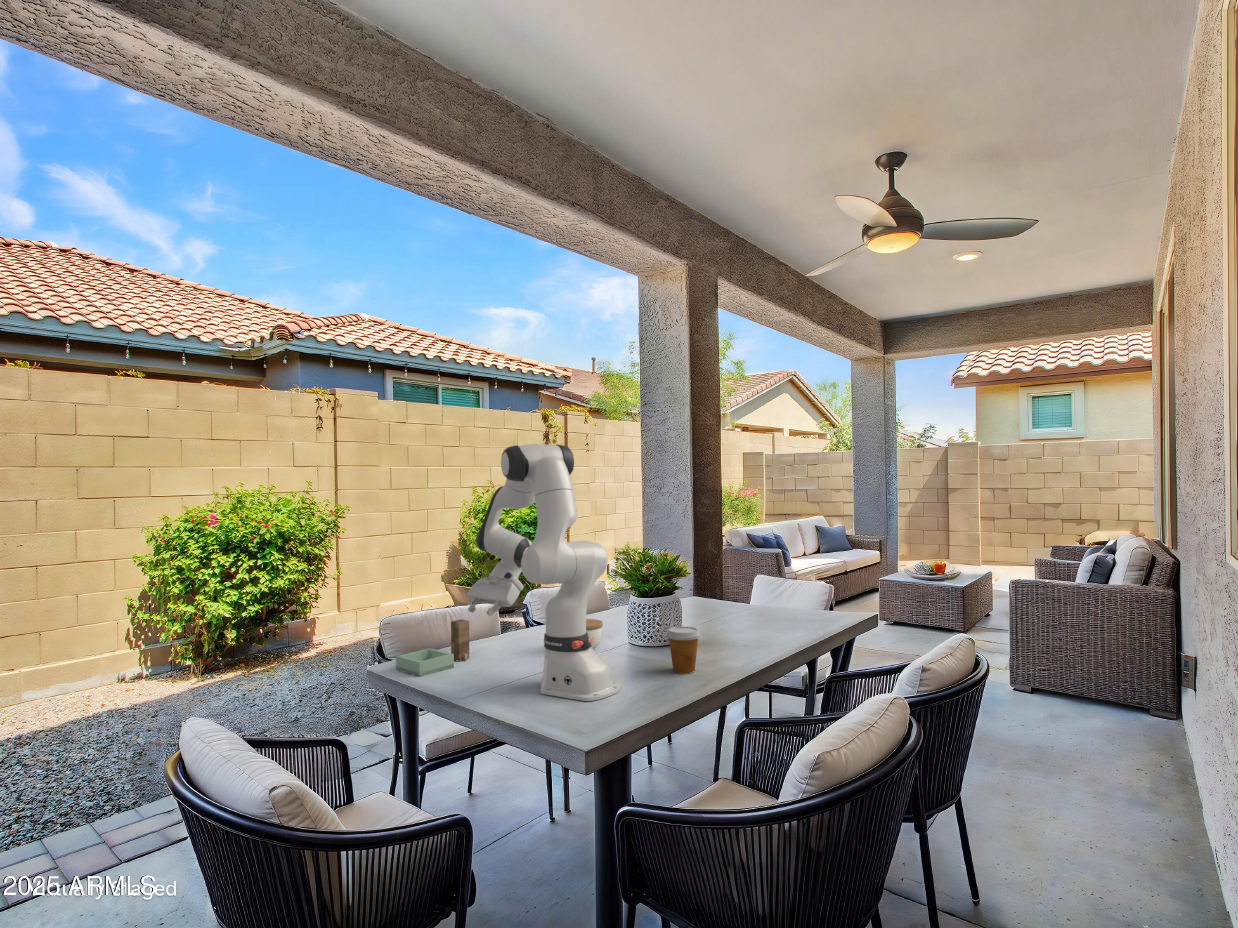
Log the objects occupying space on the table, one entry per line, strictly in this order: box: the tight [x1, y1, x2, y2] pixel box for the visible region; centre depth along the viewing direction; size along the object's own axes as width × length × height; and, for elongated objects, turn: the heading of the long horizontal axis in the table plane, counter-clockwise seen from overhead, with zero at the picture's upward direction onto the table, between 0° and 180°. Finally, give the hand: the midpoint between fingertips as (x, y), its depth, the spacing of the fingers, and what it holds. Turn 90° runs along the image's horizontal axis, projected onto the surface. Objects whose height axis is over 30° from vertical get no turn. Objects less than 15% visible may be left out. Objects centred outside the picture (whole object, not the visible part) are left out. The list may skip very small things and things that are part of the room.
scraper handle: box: [450, 619, 470, 662], centre depth 206 cm, size 6×4×12 cm, turn 52°
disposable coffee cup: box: [666, 626, 701, 674], centre depth 190 cm, size 10×10×12 cm
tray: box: [395, 647, 455, 677], centre depth 196 cm, size 12×12×4 cm
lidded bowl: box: [586, 618, 604, 651], centre depth 216 cm, size 13×13×11 cm
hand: (479, 612), depth 212 cm, fingers open, 8 cm apart
